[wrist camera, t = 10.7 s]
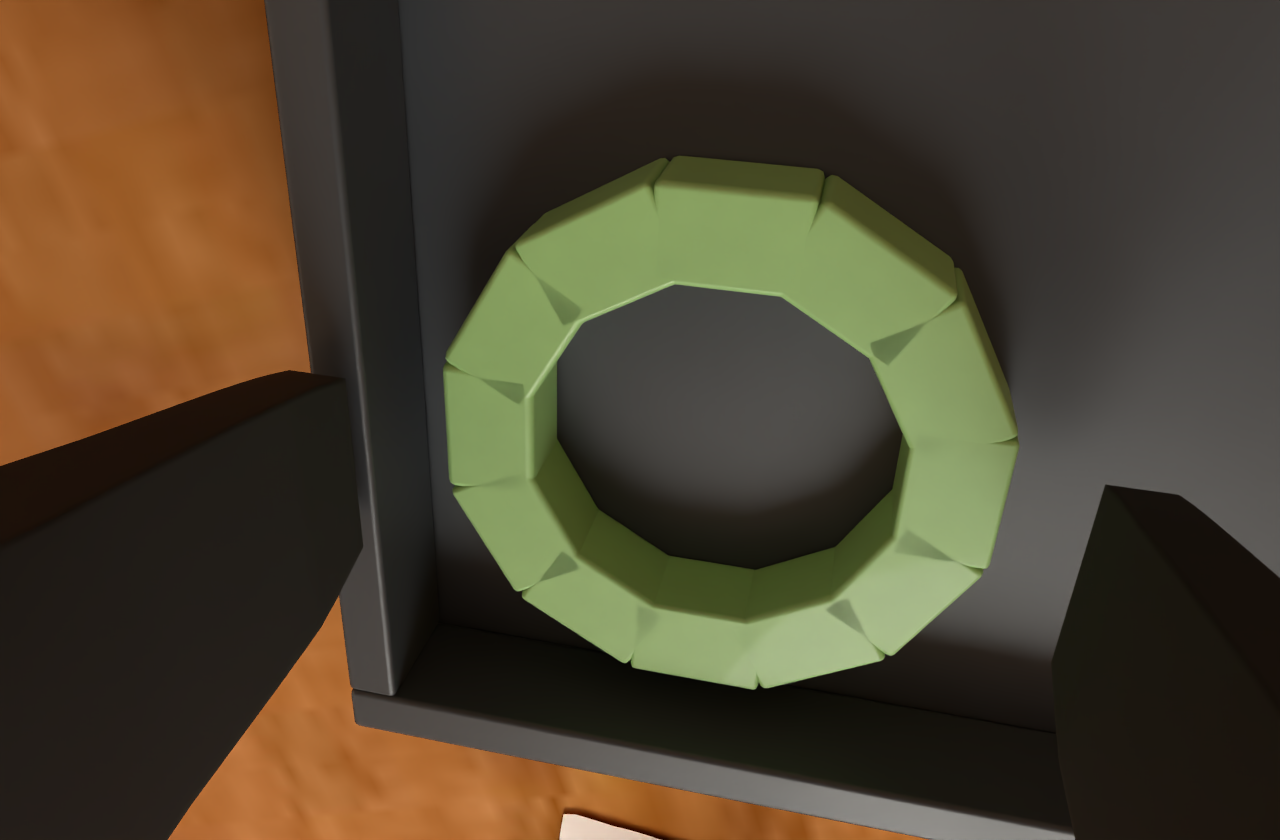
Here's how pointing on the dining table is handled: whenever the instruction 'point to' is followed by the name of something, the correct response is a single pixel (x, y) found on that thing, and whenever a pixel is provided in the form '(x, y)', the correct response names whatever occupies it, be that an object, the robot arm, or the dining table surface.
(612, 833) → the figurine
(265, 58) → the dining table surface
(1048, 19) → the tray
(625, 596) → the ring toss ring
